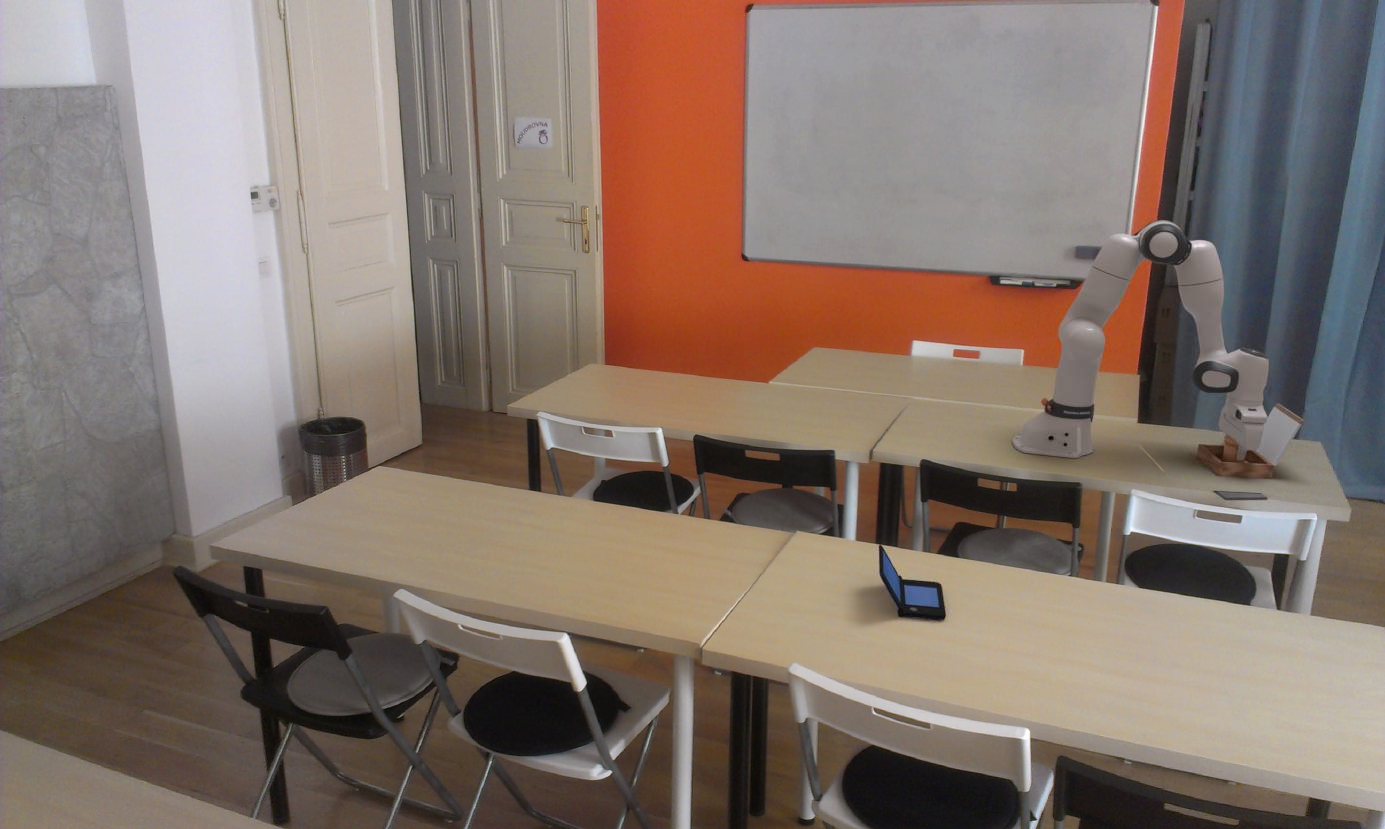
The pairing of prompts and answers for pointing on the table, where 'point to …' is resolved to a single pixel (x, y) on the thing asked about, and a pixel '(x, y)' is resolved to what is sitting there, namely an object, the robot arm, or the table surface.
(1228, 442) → the tan cylinder
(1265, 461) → the tray
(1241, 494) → the coaster
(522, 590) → the table surface
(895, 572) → the handheld game console
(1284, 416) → the lid
